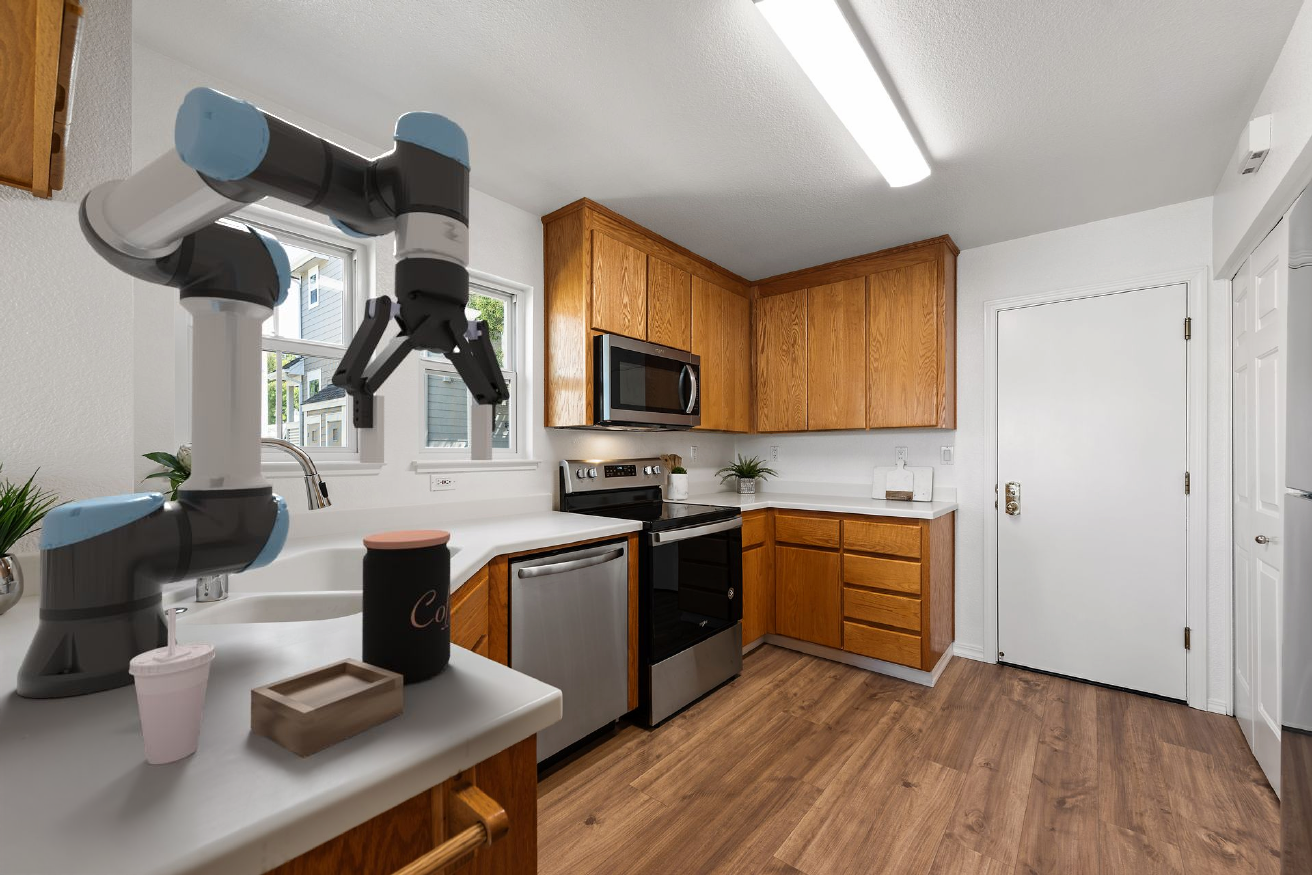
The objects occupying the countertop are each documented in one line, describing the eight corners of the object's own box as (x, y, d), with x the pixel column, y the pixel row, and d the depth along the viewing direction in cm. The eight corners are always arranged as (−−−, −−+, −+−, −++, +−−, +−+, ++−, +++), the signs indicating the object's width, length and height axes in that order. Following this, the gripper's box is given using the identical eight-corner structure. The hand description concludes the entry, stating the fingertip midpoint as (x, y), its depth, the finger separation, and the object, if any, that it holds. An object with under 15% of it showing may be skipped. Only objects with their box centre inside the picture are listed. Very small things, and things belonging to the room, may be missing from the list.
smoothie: (113, 779, 51) (115, 621, 51) (144, 744, 57) (146, 603, 57) (202, 762, 53) (203, 612, 54) (223, 731, 59) (224, 596, 59)
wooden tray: (250, 729, 60) (251, 689, 60) (348, 692, 68) (349, 657, 69) (304, 757, 54) (304, 712, 54) (403, 713, 63) (403, 675, 63)
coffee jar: (419, 691, 69) (419, 542, 69) (342, 685, 71) (343, 540, 71) (465, 659, 79) (465, 530, 80) (397, 654, 81) (398, 528, 82)
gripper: (336, 219, 49) (334, 464, 49) (538, 288, 70) (538, 459, 70) (291, 236, 53) (289, 464, 52) (496, 296, 74) (495, 459, 74)
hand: (432, 461), depth 61 cm, fingers open, 13 cm apart
